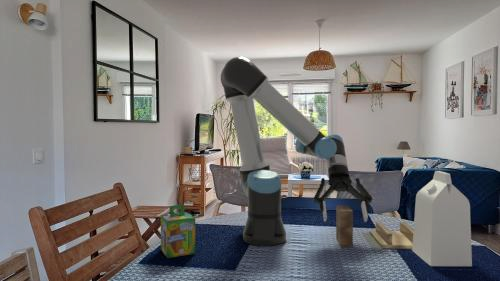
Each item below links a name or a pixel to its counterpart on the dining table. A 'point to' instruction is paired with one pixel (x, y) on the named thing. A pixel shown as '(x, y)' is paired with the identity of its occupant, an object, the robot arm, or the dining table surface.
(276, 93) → the robot arm
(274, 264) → the dining table surface
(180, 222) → the chalk box
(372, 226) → the dining table surface
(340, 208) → the brown wooden block
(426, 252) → the milk
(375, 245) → the mat
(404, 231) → the rack
